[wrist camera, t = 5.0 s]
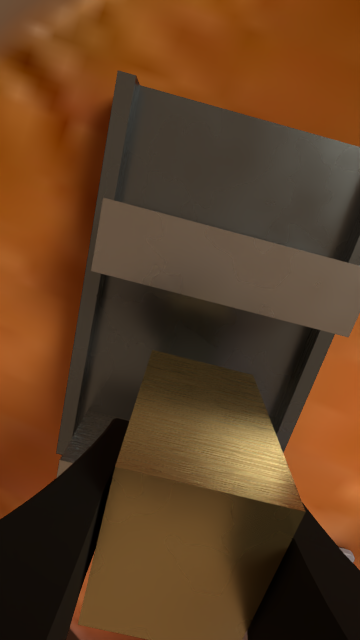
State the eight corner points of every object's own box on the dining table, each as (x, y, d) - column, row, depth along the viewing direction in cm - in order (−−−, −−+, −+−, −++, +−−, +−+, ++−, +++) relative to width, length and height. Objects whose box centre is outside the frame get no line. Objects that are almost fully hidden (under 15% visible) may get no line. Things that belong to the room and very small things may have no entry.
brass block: (216, 475, 14) (233, 658, 8) (126, 453, 14) (77, 624, 8) (252, 375, 12) (306, 512, 6) (152, 349, 12) (115, 466, 6)
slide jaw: (313, 311, 15) (348, 337, 12) (114, 259, 15) (91, 270, 11) (334, 259, 14) (378, 271, 11) (125, 202, 14) (103, 197, 10)
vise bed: (257, 473, 20) (277, 554, 15) (67, 428, 19) (26, 497, 14) (385, 163, 14) (481, 135, 9) (125, 91, 14) (89, 23, 9)
